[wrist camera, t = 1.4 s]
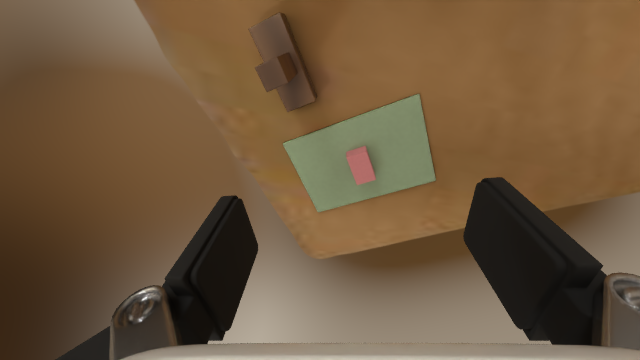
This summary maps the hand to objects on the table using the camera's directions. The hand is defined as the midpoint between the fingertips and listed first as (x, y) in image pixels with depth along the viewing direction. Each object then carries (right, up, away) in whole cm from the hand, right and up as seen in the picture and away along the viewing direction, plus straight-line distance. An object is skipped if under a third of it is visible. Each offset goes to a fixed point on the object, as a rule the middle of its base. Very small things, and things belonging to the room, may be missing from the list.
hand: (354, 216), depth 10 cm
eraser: (+5, +4, +27) cm, 28 cm away
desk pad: (+5, +4, +27) cm, 28 cm away
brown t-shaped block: (-6, +16, +21) cm, 27 cm away
